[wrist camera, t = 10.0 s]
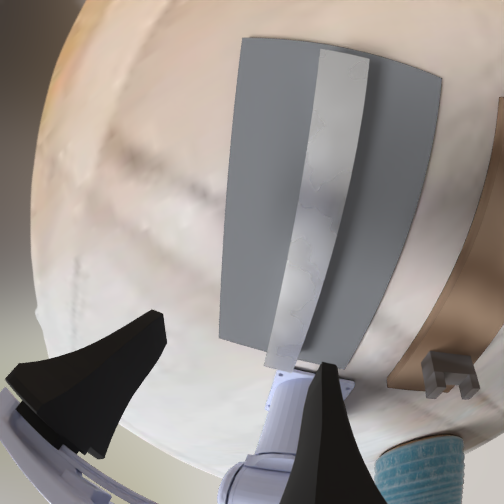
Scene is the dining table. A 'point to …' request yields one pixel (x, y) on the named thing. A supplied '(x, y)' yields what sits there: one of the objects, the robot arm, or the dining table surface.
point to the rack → (464, 299)
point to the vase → (422, 471)
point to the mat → (289, 183)
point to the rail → (319, 199)
